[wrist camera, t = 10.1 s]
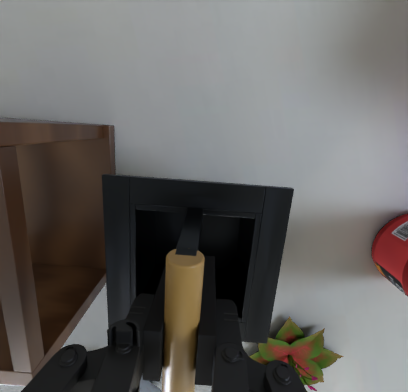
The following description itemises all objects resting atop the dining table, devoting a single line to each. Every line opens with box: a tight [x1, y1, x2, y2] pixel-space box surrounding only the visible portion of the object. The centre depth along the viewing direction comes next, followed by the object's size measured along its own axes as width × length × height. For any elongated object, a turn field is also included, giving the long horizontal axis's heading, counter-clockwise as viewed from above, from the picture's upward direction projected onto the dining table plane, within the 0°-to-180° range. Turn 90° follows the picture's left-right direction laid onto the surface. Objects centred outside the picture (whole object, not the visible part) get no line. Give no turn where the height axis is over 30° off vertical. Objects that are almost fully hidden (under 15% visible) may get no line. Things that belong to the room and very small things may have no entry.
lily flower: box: [249, 316, 343, 391], centre depth 28 cm, size 12×12×5 cm
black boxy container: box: [102, 174, 294, 392], centre depth 17 cm, size 12×12×14 cm
